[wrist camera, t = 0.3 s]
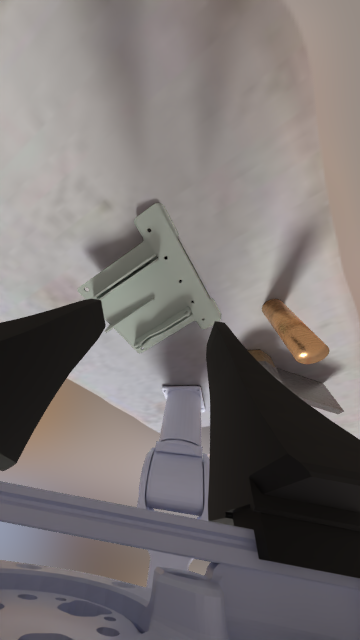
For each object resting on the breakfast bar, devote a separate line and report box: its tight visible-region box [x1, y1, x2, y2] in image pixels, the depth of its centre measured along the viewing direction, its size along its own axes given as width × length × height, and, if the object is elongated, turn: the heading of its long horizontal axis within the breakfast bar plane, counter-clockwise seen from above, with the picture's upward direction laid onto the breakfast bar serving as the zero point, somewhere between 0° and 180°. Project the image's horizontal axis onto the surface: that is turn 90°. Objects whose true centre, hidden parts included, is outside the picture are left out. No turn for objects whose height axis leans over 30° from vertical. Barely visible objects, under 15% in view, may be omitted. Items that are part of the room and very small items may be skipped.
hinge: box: [248, 350, 344, 414], centre depth 25 cm, size 16×15×4 cm
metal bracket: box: [78, 203, 221, 353], centre depth 19 cm, size 14×6×15 cm
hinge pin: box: [262, 299, 329, 364], centre depth 16 cm, size 2×2×8 cm
